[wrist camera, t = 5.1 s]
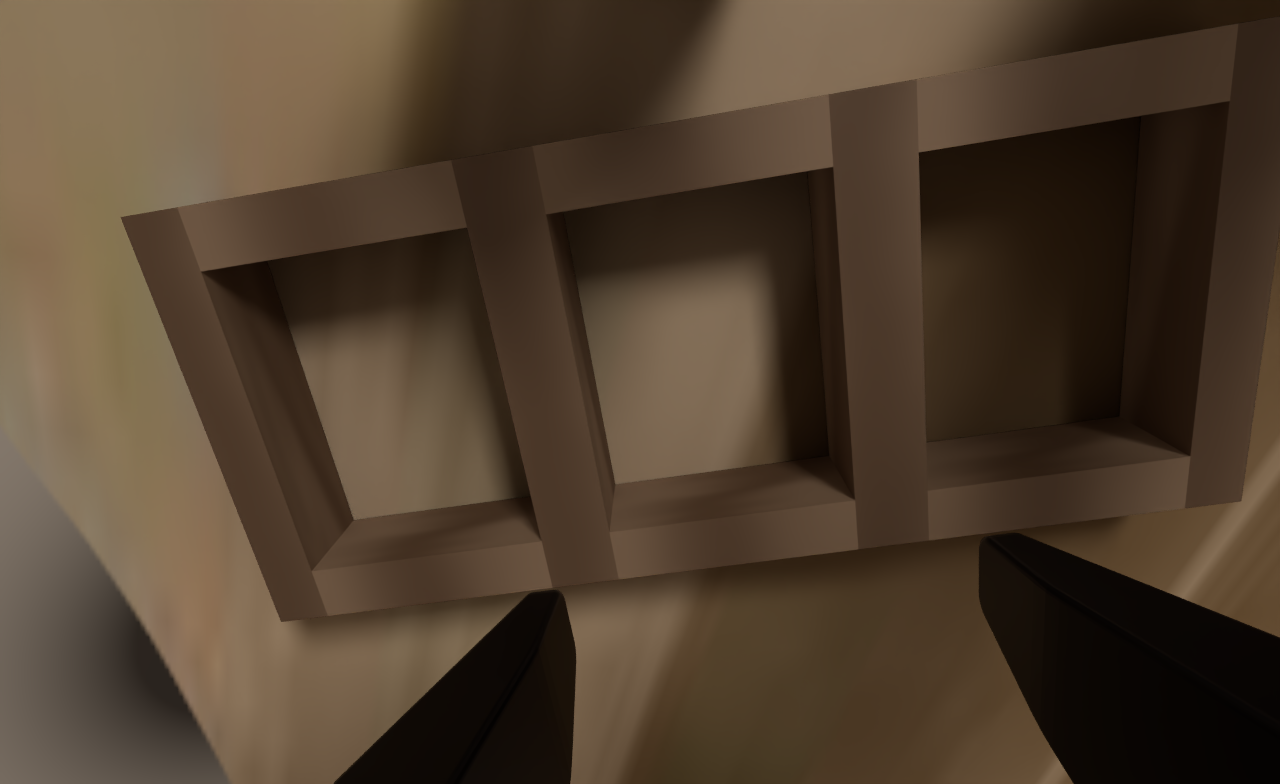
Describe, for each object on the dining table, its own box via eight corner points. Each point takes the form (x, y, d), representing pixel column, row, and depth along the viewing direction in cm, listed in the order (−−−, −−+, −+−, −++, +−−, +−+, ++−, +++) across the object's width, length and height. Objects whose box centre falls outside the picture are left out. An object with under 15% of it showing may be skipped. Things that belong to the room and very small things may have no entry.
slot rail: (1205, 33, 18) (1310, 11, 15) (1165, 456, 22) (1241, 501, 19) (196, 208, 20) (120, 217, 17) (326, 566, 24) (281, 621, 21)
